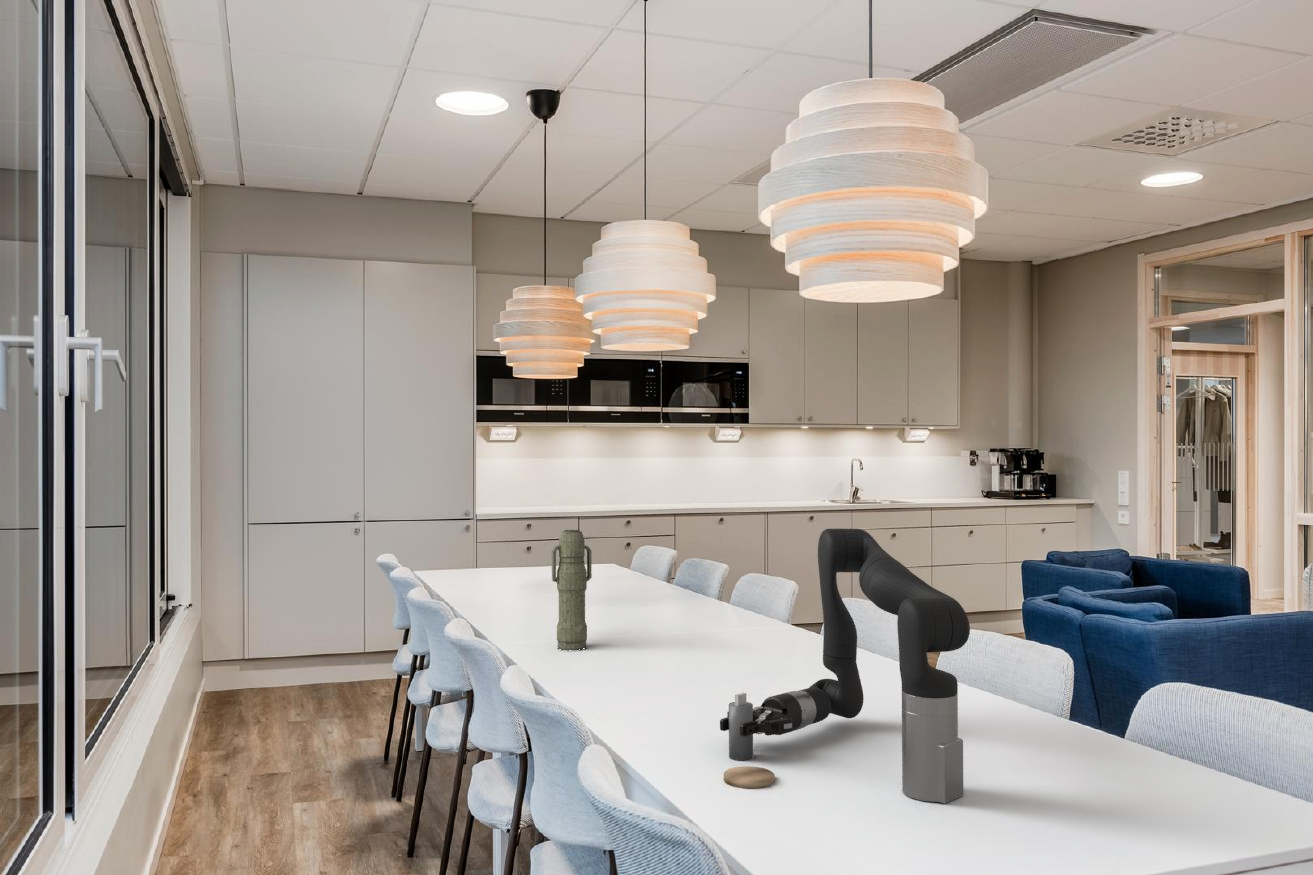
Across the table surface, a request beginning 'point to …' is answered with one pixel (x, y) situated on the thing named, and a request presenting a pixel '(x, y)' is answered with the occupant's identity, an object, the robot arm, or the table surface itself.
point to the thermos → (571, 589)
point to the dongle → (739, 715)
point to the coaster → (749, 777)
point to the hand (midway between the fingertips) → (731, 727)
